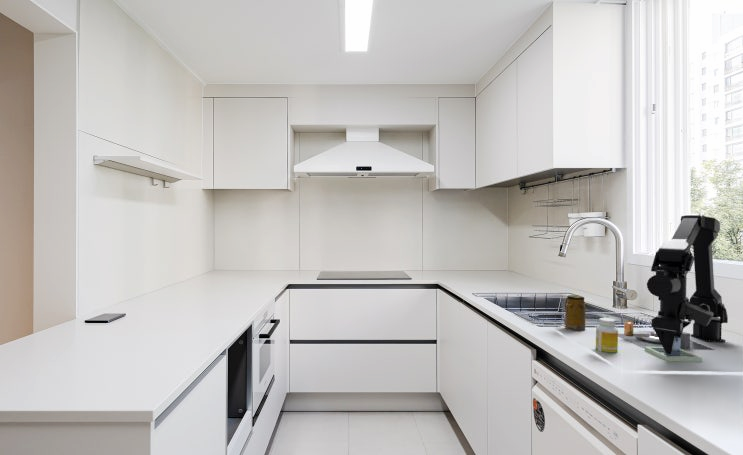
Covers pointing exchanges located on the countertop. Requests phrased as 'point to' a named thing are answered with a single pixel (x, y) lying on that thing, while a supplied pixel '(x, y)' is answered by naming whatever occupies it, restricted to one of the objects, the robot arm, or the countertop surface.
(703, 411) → the countertop surface
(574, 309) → the condiment
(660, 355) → the tray
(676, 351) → the blue gray block
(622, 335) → the crank base
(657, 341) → the crank
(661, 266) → the robot arm
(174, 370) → the countertop surface
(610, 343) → the supplement bottle
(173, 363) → the countertop surface
